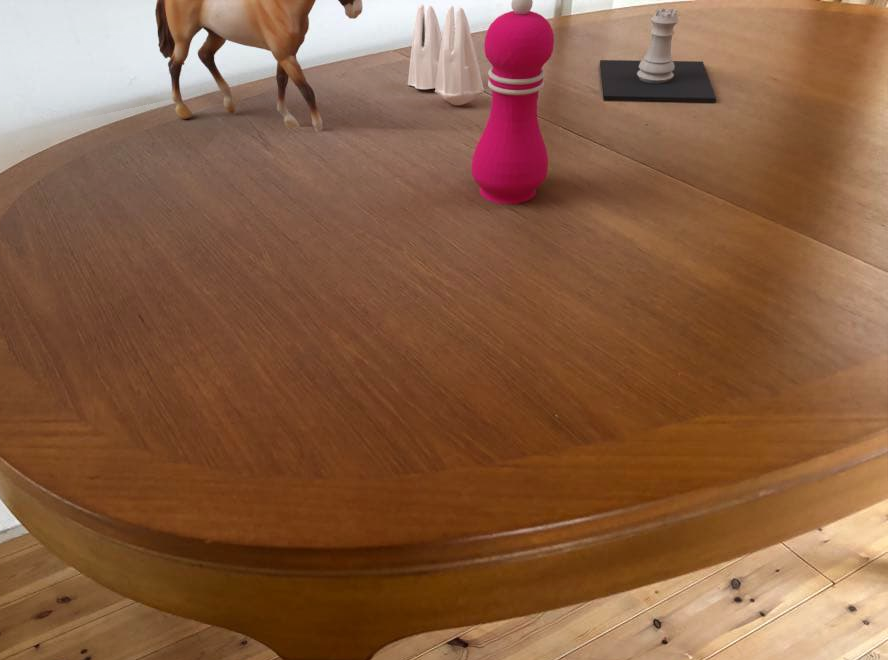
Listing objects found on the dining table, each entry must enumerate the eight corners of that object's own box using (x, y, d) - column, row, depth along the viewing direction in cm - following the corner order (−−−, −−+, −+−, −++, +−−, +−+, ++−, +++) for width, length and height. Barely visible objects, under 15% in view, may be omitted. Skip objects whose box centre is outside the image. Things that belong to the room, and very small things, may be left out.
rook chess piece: (657, 87, 109) (669, 19, 104) (628, 77, 112) (638, 11, 107) (680, 78, 111) (693, 10, 106) (651, 69, 114) (663, 3, 109)
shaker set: (485, 106, 108) (490, 11, 101) (456, 114, 107) (459, 17, 100) (432, 78, 116) (434, -12, 109) (405, 85, 115) (405, -6, 108)
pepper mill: (454, 208, 88) (461, -6, 75) (503, 185, 91) (519, -24, 79) (508, 233, 84) (526, 10, 71) (558, 208, 87) (584, -9, 74)
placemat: (701, 65, 116) (702, 61, 115) (715, 103, 106) (716, 98, 105) (599, 64, 118) (600, 59, 117) (603, 100, 108) (604, 95, 108)
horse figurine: (377, 136, 103) (372, -60, 90) (339, 161, 98) (328, -42, 85) (177, 92, 117) (148, -83, 104) (136, 112, 112) (100, -69, 99)
